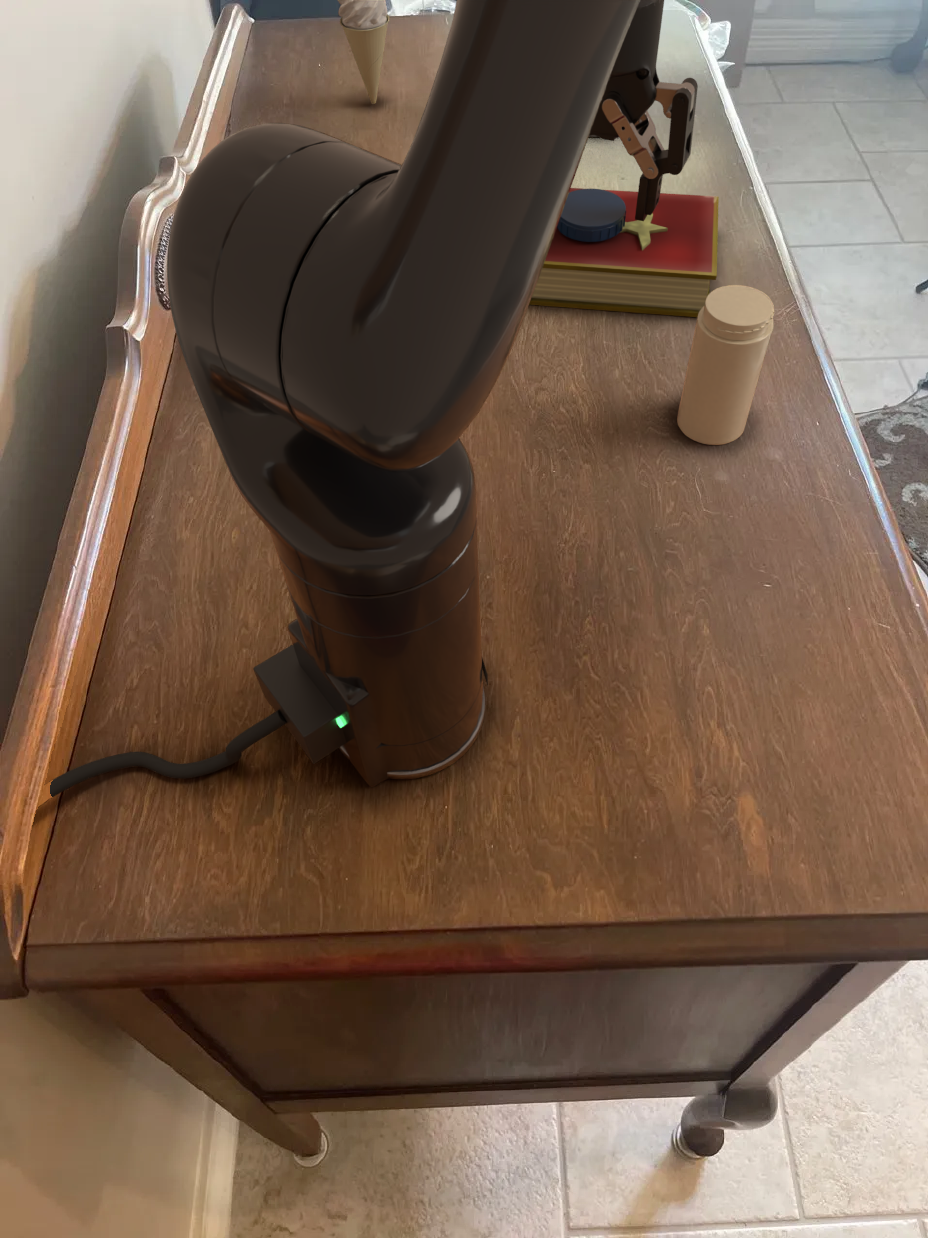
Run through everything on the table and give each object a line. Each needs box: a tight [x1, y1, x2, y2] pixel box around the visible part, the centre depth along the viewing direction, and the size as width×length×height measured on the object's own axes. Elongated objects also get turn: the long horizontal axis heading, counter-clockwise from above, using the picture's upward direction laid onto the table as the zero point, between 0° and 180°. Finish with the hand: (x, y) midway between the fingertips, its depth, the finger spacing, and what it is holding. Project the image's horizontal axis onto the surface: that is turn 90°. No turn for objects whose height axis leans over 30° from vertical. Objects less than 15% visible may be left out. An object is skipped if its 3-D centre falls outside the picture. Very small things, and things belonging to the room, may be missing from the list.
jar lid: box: [557, 188, 626, 242], centre depth 76 cm, size 6×6×1 cm
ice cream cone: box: [337, 0, 390, 105], centre depth 93 cm, size 5×5×15 cm
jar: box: [676, 284, 776, 446], centre depth 65 cm, size 5×5×10 cm
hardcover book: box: [529, 187, 720, 318], centre depth 79 cm, size 12×21×4 cm, turn 80°
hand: (592, 206), depth 76 cm, fingers open, 8 cm apart
